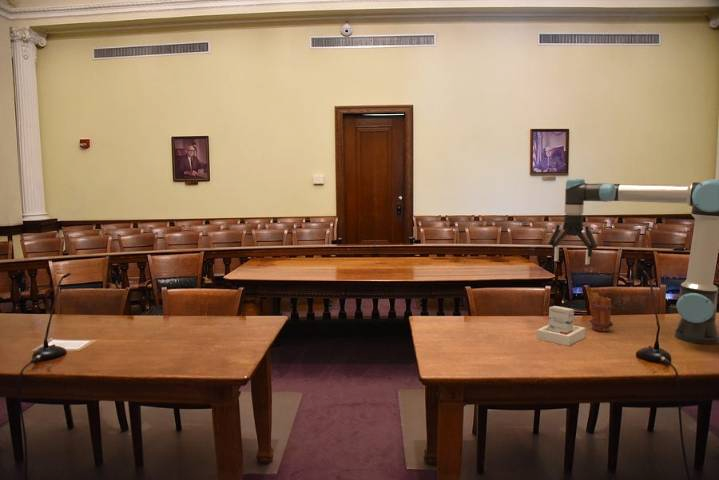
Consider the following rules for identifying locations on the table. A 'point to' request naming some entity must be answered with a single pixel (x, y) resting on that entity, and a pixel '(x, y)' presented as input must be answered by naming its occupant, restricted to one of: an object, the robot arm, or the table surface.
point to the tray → (561, 335)
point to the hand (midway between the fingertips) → (571, 262)
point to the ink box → (560, 320)
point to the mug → (600, 312)
